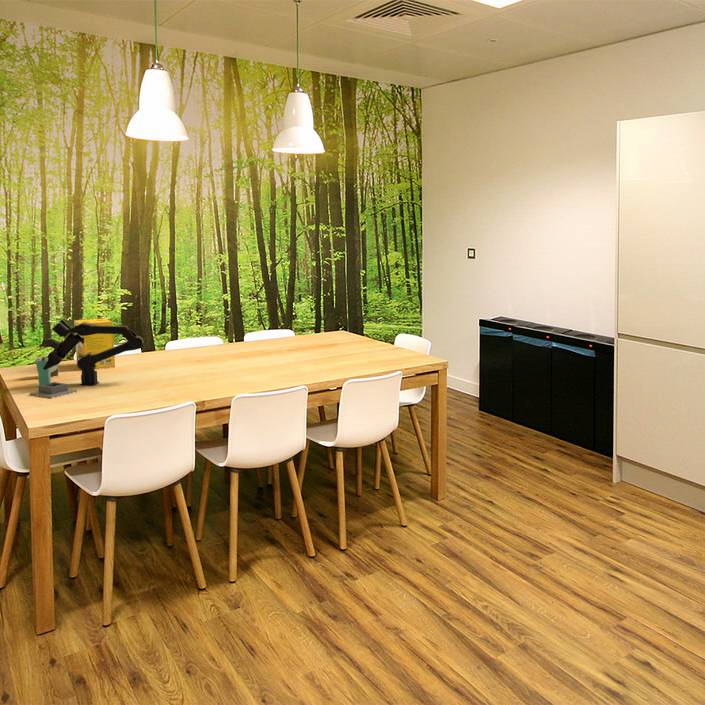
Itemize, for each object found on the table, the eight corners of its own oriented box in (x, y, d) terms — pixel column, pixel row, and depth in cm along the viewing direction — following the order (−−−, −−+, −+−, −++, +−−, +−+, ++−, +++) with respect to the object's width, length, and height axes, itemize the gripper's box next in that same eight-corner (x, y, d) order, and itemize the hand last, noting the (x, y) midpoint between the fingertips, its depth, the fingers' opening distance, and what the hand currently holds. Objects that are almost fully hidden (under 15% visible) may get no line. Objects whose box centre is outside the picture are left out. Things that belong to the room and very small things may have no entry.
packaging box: (77, 365, 377) (73, 320, 373) (107, 362, 386) (104, 318, 381) (83, 370, 364) (80, 323, 359) (115, 367, 372) (112, 321, 368)
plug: (51, 384, 332) (48, 356, 329) (49, 386, 327) (47, 358, 325) (41, 385, 331) (39, 356, 328) (39, 387, 326) (37, 358, 324)
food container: (54, 373, 356) (53, 354, 354) (60, 375, 352) (59, 356, 350) (31, 377, 346) (29, 358, 344) (37, 379, 342) (35, 359, 341)
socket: (55, 388, 324) (55, 380, 323) (76, 391, 318) (76, 383, 317) (30, 394, 312) (29, 386, 311) (51, 398, 306) (50, 389, 305)
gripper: (59, 329, 335) (36, 352, 334) (51, 335, 317) (27, 359, 316) (77, 344, 338) (55, 367, 337) (70, 351, 320) (46, 375, 320)
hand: (45, 367), depth 328 cm, fingers open, 9 cm apart
